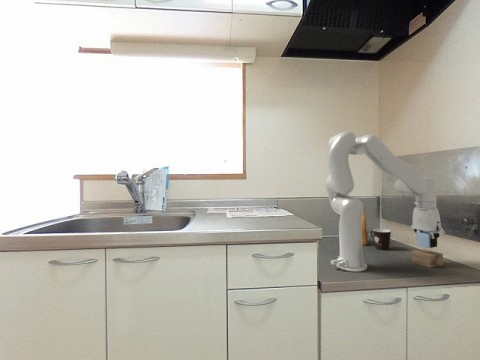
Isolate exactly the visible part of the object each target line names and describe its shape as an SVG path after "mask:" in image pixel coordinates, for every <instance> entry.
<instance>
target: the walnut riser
mask: <svg viewBox="0 0 480 360" xmlns="http://www.w3.org/2000/svg"><path fill="white" fill-rule="evenodd" d="M411 253H412V255H411V258H412V259H411V260H412V263H414V264H417V265H421V266H423V267H426V268H435V267H439V266H441V267H442V266H443V265H444V255H443V253H441V252H438V251H433V250H429V249H427V248H425V249H424V248H423V249H417V250H412V251H411Z"/></svg>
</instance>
